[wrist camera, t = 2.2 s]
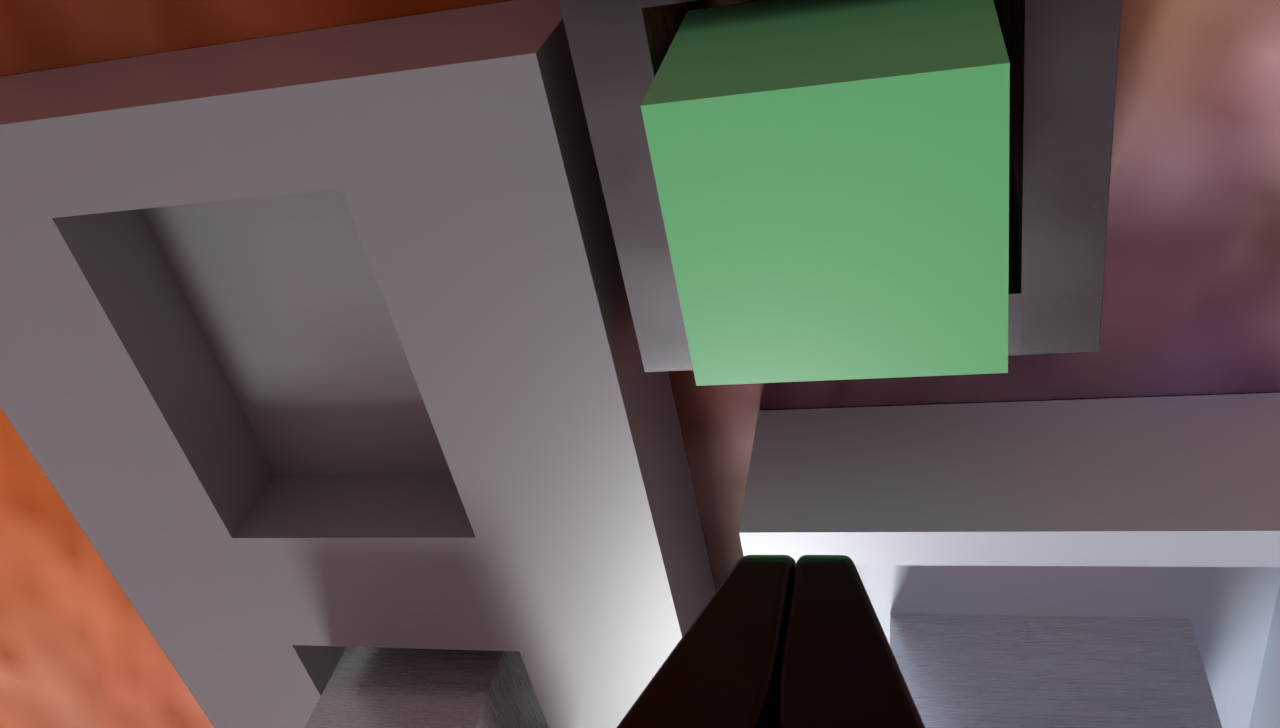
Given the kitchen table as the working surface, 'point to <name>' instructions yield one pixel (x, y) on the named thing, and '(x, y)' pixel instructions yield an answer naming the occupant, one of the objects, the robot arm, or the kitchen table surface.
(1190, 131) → the kitchen table surface
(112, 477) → the pallet
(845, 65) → the green cube
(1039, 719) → the block
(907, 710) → the robot arm
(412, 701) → the block
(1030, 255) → the housing
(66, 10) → the kitchen table surface
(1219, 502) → the tote
